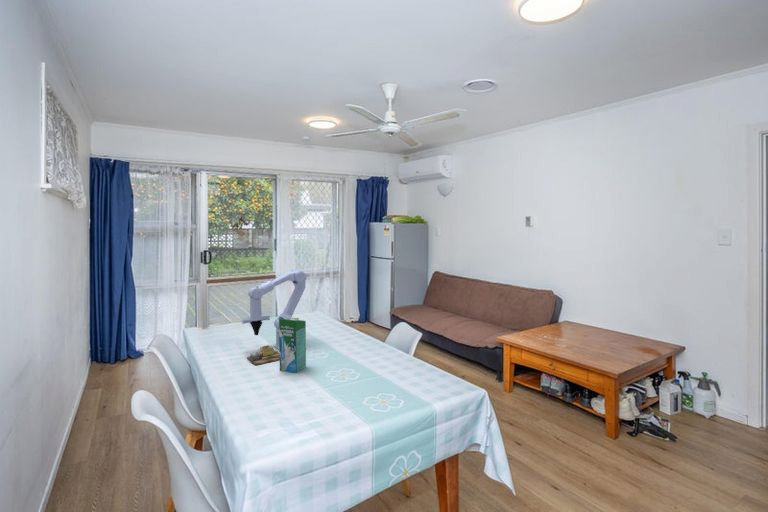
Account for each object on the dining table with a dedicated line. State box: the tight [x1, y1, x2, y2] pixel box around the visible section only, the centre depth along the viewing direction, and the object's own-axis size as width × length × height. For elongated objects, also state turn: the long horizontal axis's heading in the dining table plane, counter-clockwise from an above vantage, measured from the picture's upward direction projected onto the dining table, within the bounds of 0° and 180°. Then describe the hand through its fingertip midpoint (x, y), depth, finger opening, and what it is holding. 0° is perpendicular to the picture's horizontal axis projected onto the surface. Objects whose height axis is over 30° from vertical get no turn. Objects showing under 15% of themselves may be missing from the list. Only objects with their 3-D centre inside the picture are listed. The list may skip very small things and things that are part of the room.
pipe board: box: [246, 350, 280, 367], centre depth 203 cm, size 16×12×5 cm
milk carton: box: [278, 316, 307, 374], centre depth 189 cm, size 9×9×25 cm
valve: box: [259, 344, 276, 358], centre depth 203 cm, size 8×4×6 cm, turn 129°
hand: (256, 334), depth 213 cm, fingers closed
